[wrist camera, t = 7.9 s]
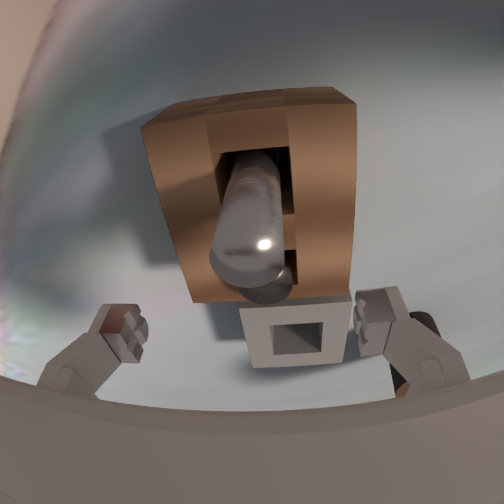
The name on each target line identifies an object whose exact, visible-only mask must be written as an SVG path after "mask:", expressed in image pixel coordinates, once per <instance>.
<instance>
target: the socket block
mask: <svg viewBox="0 0 504 504" xmlns="http://www.w3.org/2000/svg"><path fill="white" fill-rule="evenodd" d="M140 130H141V134H142V137H143V141H144V145H145V149H146V153H147V157H148V160H149V164H150V168H151V171H152V175H153V178H154V182H155V186H156V189H157V192H158V196H159V199H160V203H161V206H162V209H163V213H164V216H165V219H166V222H167V226H168V229H169V232H170V235H171V238H172V242H173V245H174V248H175V251H176V254H177V257H178V260H179V263H180V266H181V269H182V272H183V275H184V278H185V281H186V283H187V286H188V289H189V292H190V295H191V298H192V300H193V303H208V302H234V301H249V300H247V299H246V298H244V297H243V296H242V294H241V293H240V291H239V289H238V287H237V286H234V285H231V284H229V283H227V282H225V281H223V280H222V279H221V278H220V277H218V276H217V275H216V273H215V272H214V271H213V269H212V267H211V265H210V261H209V253H210V249H211V245H212V241H213V237H214V233H215V229H216V226H217V222H218V218H219V214H220V211H221V207H222V203H223V200H224V196H225V192H226V189H227V185H228V182H229V178H230V175H231V171H232V167H233V161H232V155H231V151H240V150H250V149H260V148H271V147H284V146H287V154H288V166H289V170H285V171H280V186H281V202H282V219H283V238H284V258H285V260H284V261H285V262H286V263H287V264H288V265H289V267H290V269H291V271H292V283H293V287H292V291H291V293H290V294H289V296H288V297H287V298H285V299H291V298H306V297H320V296H333V295H345V294H348V288H349V278H350V268H351V258H352V246H353V232H354V217H355V197H356V166H357V114H356V103H355V102H353V101H352V100H350V99H349V98H348V97H346V96H345V95H343V94H342V93H341V92H339V91H338V90H336V89H335V88H333V87H309V88H290V89H277V90H265V91H255V92H246V93H238V94H230V95H223V96H216V97H210V98H204V99H198V100H192V101H186V102H181V103H176V104H173V105H171V106H170V107H168V108H167V109H165V110H164V111H163V112H161V113H160V114H158V115H157V116H156V117H154V118H153V119H151V120H150V121H149V122H147V123H146V124H144V125H143V126H142V127H140Z"/></svg>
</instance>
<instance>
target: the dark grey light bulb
mask: <svg viewBox="0 0 504 504" xmlns="http://www.w3.org/2000/svg"><path fill="white" fill-rule="evenodd" d="M292 287H293V283H292V271H291V269H290V267H289V265H288V264H287V263H286V262H285V261H284V267H283V269H282V271H281V273H280V274H279V276H278V277H277V278H276V279H274V280H273V281H272V282H270V283H268V284H266V285H263V286H260V287H255V288H243V287H238V289H239V291H240V293H241V294H242V296H243V297H244V298H246V299H247V300H249V301H251V302H253V303H256V304H262V305H270V304H275V303H278V302H281V301H282V300H284V299H285V298H287V297H288V296H289V294H290V293H291V291H292Z"/></svg>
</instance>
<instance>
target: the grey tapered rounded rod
mask: <svg viewBox="0 0 504 504" xmlns="http://www.w3.org/2000/svg"><path fill="white" fill-rule="evenodd" d="M284 260H285V258H284V238H283V219H282V202H281V186H280V171H279V157H278V147H271V148H260V149H250V150H240V151H237V154H236V157H235V160H234V164H233V167H232V171H231V175H230V178H229V182H228V185H227V189H226V192H225V196H224V200H223V203H222V207H221V211H220V214H219V218H218V222H217V226H216V229H215V233H214V237H213V241H212V245H211V249H210V253H209V261H210V265H211V267H212V269H213V271H214V272H215V273H216V275H217V276H218V277H220V278H221V279H222V280H223V281H225V282H227V283H229V284H231V285H234V286H237V287H243V288H255V287H260V286H263V285H266V284H268V283H270V282H272V281H273V280H274V279H276V278H277V277H278V276H279V274H280V273H281V271H282V269H283V267H284Z"/></svg>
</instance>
